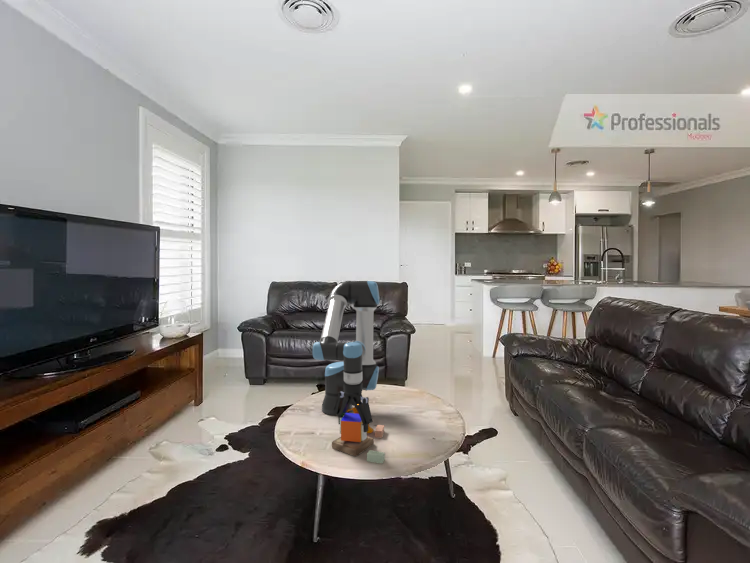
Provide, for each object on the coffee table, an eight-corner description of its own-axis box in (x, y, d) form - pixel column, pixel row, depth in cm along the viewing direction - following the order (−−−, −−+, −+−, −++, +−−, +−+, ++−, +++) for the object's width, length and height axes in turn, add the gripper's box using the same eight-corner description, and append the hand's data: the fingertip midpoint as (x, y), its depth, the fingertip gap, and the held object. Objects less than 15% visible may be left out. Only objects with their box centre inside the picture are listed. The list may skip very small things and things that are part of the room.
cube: (364, 433, 160) (364, 414, 160) (360, 442, 152) (360, 422, 152) (345, 431, 161) (345, 412, 161) (340, 440, 153) (340, 420, 153)
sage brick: (366, 461, 145) (366, 453, 145) (369, 457, 148) (369, 450, 148) (382, 464, 143) (382, 456, 143) (384, 460, 146) (384, 452, 146)
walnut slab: (331, 447, 155) (331, 441, 155) (350, 436, 165) (350, 430, 165) (355, 456, 149) (355, 449, 148) (373, 444, 158) (373, 437, 158)
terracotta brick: (382, 438, 164) (382, 431, 164) (375, 437, 165) (375, 430, 165) (384, 431, 170) (384, 425, 170) (377, 431, 171) (377, 424, 171)
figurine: (354, 424, 178) (354, 398, 177) (376, 428, 174) (376, 401, 173) (346, 431, 170) (346, 405, 169) (368, 436, 166) (368, 408, 165)
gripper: (325, 379, 159) (325, 432, 160) (370, 389, 146) (370, 447, 147) (337, 374, 165) (337, 425, 166) (381, 384, 152) (381, 439, 153)
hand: (353, 435), depth 157 cm, fingers closed on cube, 10 cm apart
